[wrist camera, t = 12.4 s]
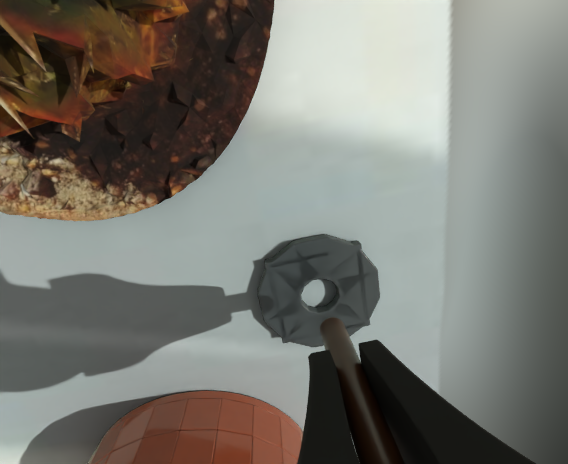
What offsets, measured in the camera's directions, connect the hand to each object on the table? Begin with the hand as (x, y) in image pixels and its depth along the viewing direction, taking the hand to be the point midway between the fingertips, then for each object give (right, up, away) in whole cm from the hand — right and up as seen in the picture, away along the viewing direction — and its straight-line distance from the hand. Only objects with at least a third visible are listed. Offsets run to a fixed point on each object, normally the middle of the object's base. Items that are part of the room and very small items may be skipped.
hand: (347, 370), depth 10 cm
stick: (0, 0, -1) cm, 1 cm away
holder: (0, +2, +5) cm, 5 cm away
